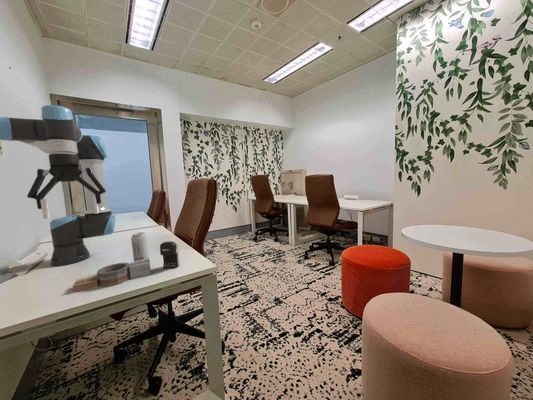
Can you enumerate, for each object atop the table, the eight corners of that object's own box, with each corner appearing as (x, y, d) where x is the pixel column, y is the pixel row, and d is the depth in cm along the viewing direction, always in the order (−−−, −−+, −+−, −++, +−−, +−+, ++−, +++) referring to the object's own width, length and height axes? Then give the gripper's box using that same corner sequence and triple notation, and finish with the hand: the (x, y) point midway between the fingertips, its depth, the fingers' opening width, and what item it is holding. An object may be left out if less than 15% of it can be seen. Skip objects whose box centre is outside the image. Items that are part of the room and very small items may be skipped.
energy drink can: (131, 268, 97) (127, 235, 96) (141, 263, 103) (137, 232, 101) (143, 268, 96) (139, 235, 94) (152, 263, 102) (149, 231, 100)
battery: (160, 269, 94) (157, 243, 93) (166, 265, 97) (163, 240, 96) (175, 269, 93) (172, 243, 91) (180, 265, 96) (177, 240, 95)
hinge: (79, 283, 84) (77, 270, 84) (150, 267, 96) (149, 256, 95) (71, 295, 75) (69, 281, 75) (150, 276, 87) (149, 263, 86)
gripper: (4, 152, 65) (16, 222, 67) (106, 152, 76) (114, 212, 78) (17, 155, 71) (28, 219, 73) (109, 155, 83) (117, 210, 85)
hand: (73, 215), depth 76 cm, fingers open, 13 cm apart
